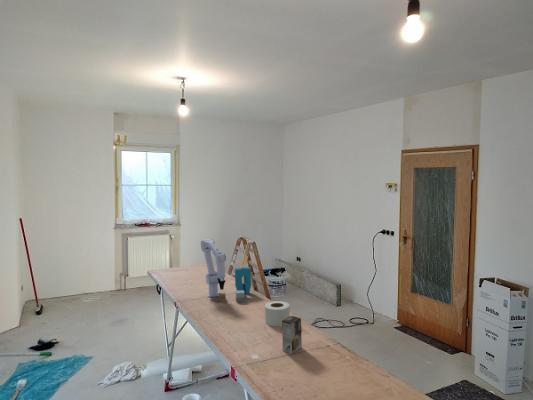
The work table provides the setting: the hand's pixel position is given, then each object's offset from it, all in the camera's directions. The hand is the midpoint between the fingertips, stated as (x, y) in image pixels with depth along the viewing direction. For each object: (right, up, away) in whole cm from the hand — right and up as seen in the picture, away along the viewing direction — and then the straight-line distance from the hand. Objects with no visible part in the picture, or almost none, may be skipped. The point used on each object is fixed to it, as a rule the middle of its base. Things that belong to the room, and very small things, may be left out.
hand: (221, 288), depth 287 cm
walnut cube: (0, -9, +1) cm, 10 cm away
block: (+15, -8, +17) cm, 25 cm away
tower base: (+14, -9, -1) cm, 17 cm away
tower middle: (+14, -6, -1) cm, 15 cm away
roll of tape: (+40, -11, -44) cm, 61 cm away
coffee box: (+47, -13, -83) cm, 97 cm away
